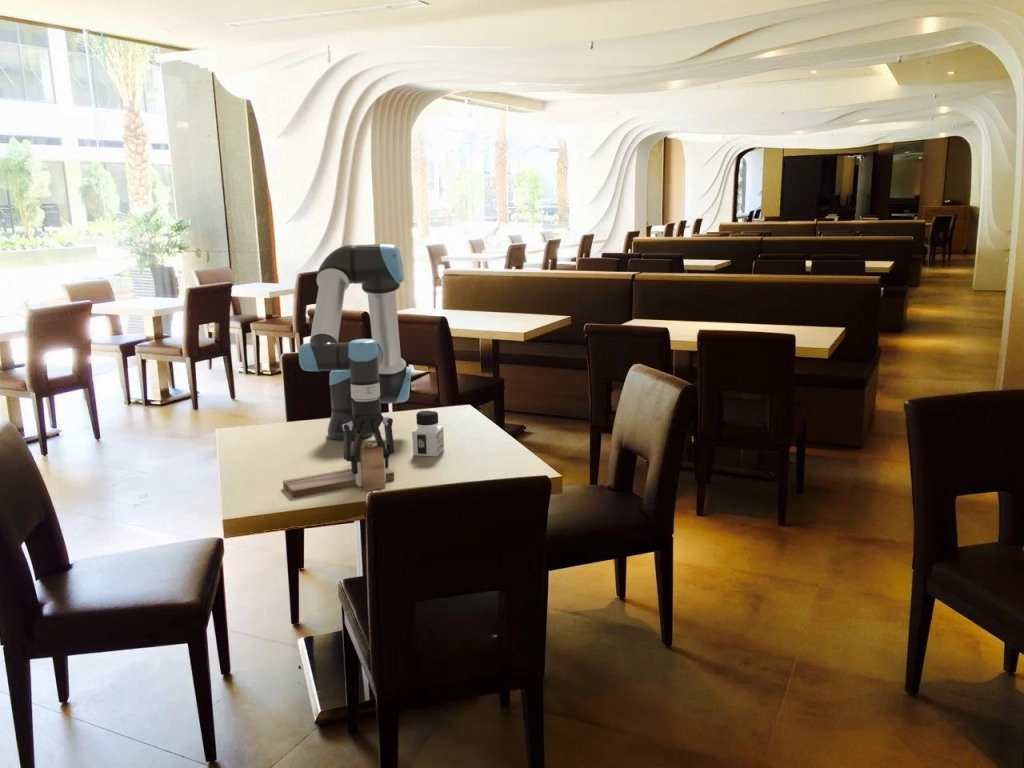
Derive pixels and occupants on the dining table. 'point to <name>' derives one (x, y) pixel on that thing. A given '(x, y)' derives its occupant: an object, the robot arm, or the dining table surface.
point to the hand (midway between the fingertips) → (371, 482)
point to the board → (324, 482)
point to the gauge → (371, 466)
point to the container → (427, 434)
